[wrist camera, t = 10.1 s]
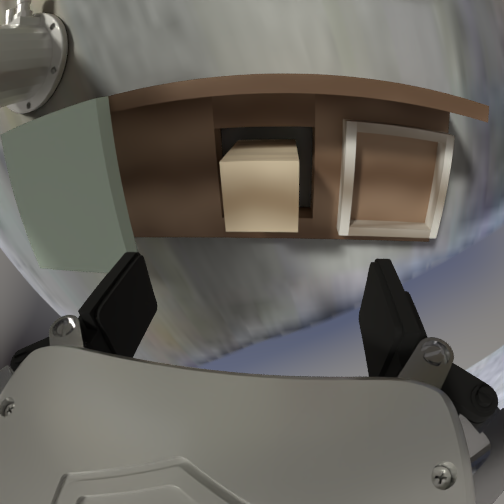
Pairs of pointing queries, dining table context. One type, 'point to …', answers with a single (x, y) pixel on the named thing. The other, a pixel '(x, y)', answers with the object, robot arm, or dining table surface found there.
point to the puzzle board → (323, 153)
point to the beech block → (261, 186)
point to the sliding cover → (70, 188)
